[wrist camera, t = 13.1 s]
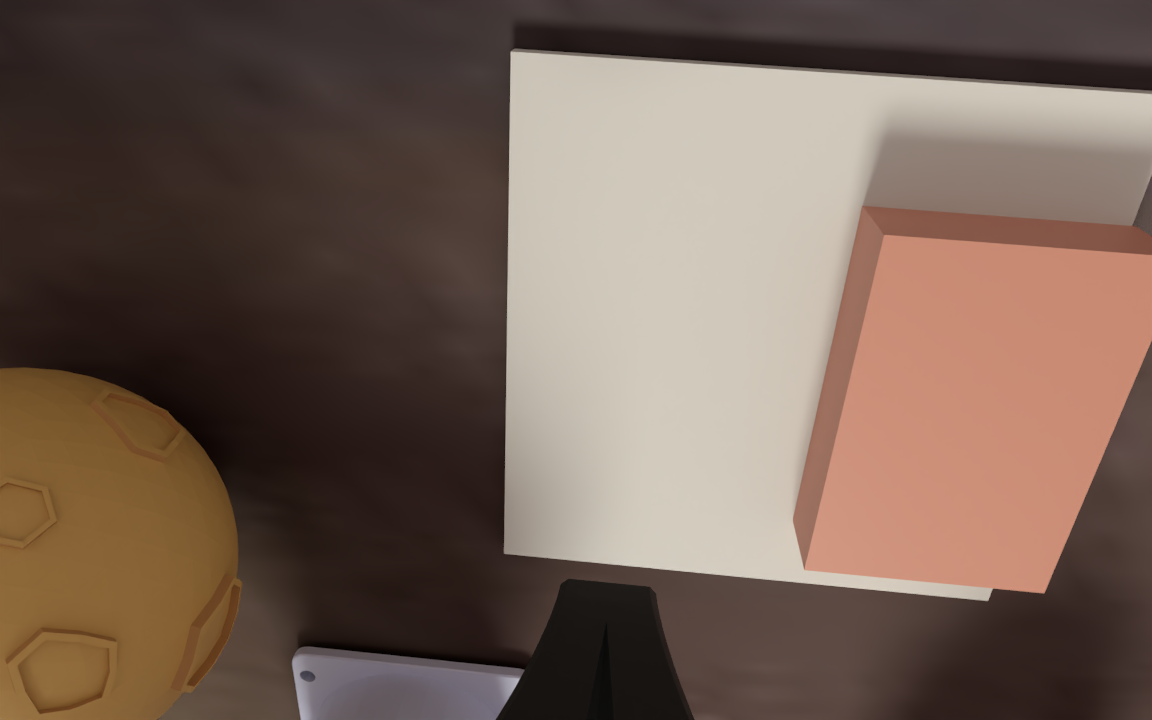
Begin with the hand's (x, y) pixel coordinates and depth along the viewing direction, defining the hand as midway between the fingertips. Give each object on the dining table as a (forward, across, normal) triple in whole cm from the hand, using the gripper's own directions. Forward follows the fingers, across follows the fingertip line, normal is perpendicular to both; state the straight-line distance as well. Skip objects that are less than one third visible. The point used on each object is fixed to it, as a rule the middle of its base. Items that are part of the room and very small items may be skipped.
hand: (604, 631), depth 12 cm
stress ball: (+10, +14, +5) cm, 18 cm away
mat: (+10, -4, 0) cm, 11 cm away
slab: (+8, -5, 0) cm, 10 cm away
